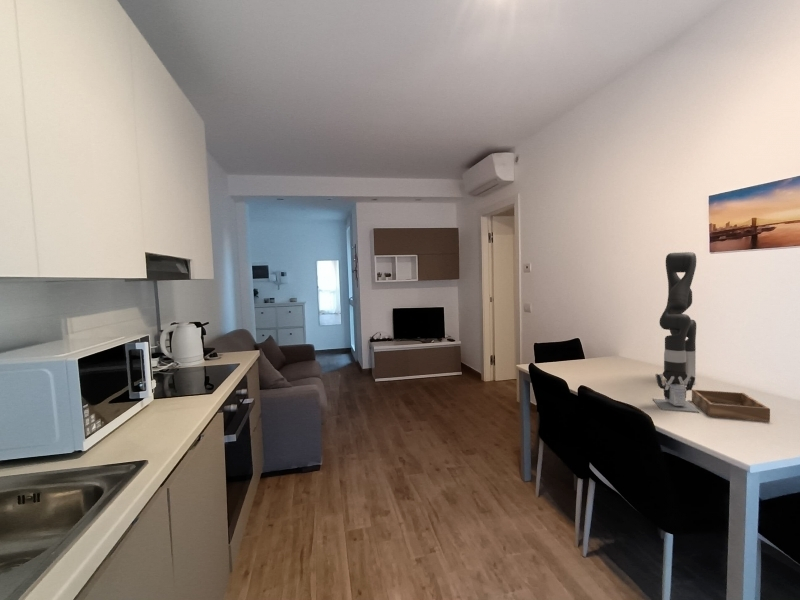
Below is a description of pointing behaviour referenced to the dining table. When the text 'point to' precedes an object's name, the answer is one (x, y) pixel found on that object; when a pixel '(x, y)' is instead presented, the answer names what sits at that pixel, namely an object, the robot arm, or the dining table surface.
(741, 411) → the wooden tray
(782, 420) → the dining table surface
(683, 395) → the medicine box
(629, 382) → the dining table surface
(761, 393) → the dining table surface
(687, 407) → the slate mat
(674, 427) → the dining table surface
